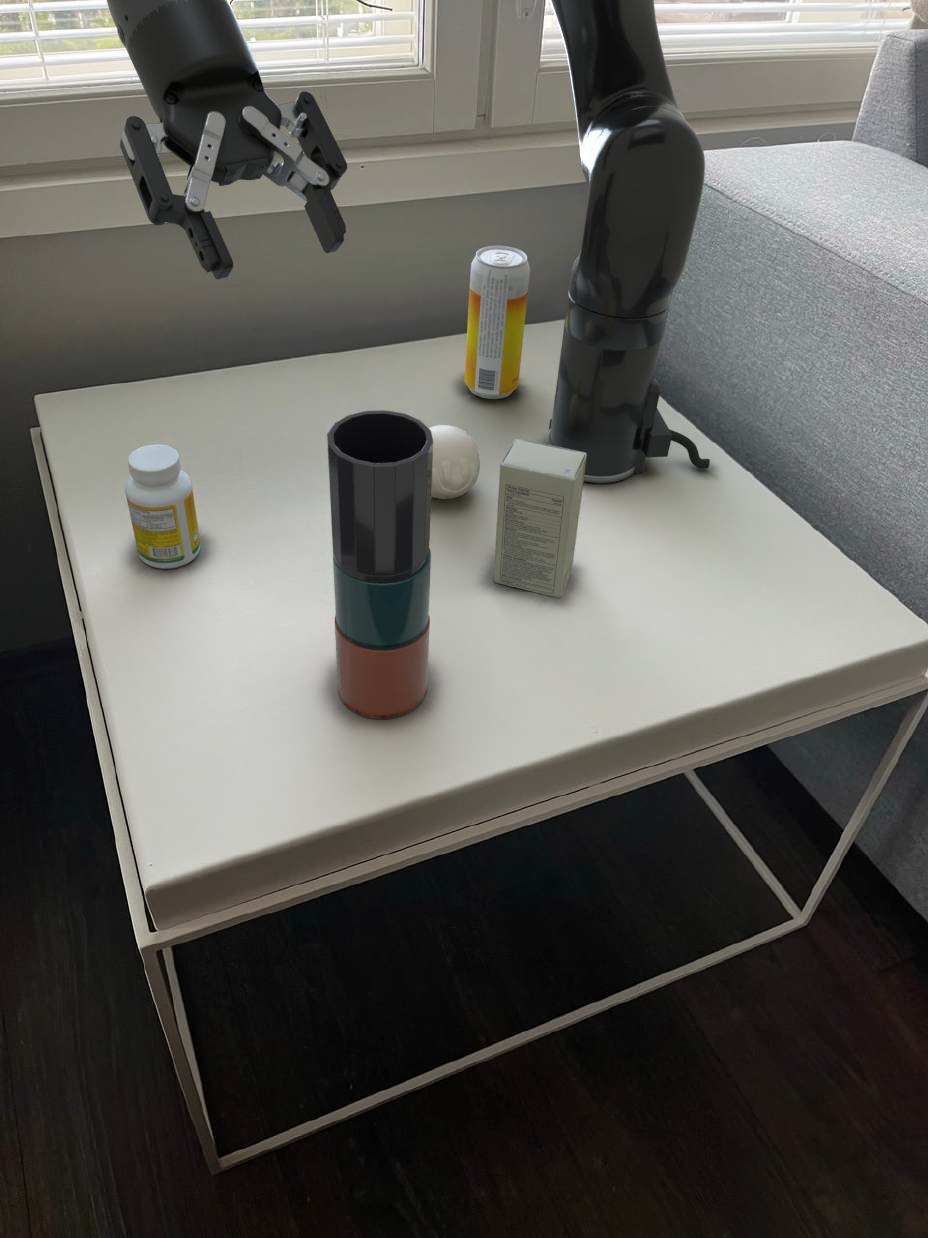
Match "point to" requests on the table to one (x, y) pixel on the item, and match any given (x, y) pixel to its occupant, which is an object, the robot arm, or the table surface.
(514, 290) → the beer can
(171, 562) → the supplement bottle
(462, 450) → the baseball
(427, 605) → the teal and red cylinder
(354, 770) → the table surface
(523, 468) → the cosmetic box
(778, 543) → the table surface
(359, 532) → the cup
